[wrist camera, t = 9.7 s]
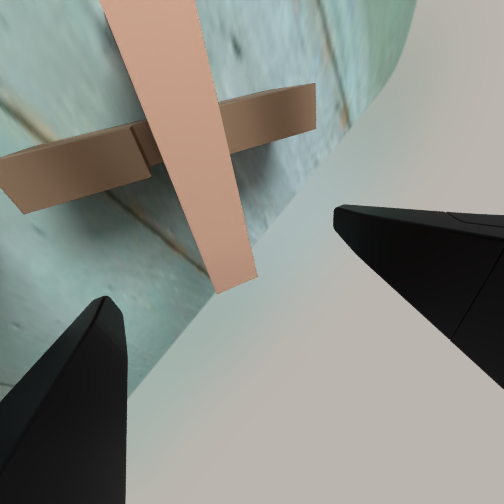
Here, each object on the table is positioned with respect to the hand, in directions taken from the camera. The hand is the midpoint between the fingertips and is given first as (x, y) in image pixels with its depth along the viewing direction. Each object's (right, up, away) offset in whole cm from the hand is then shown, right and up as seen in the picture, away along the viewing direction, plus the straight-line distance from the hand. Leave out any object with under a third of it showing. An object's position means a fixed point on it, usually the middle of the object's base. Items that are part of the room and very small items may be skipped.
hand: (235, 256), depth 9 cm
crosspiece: (-4, +8, +5) cm, 10 cm away
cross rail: (-4, +8, +5) cm, 10 cm away
